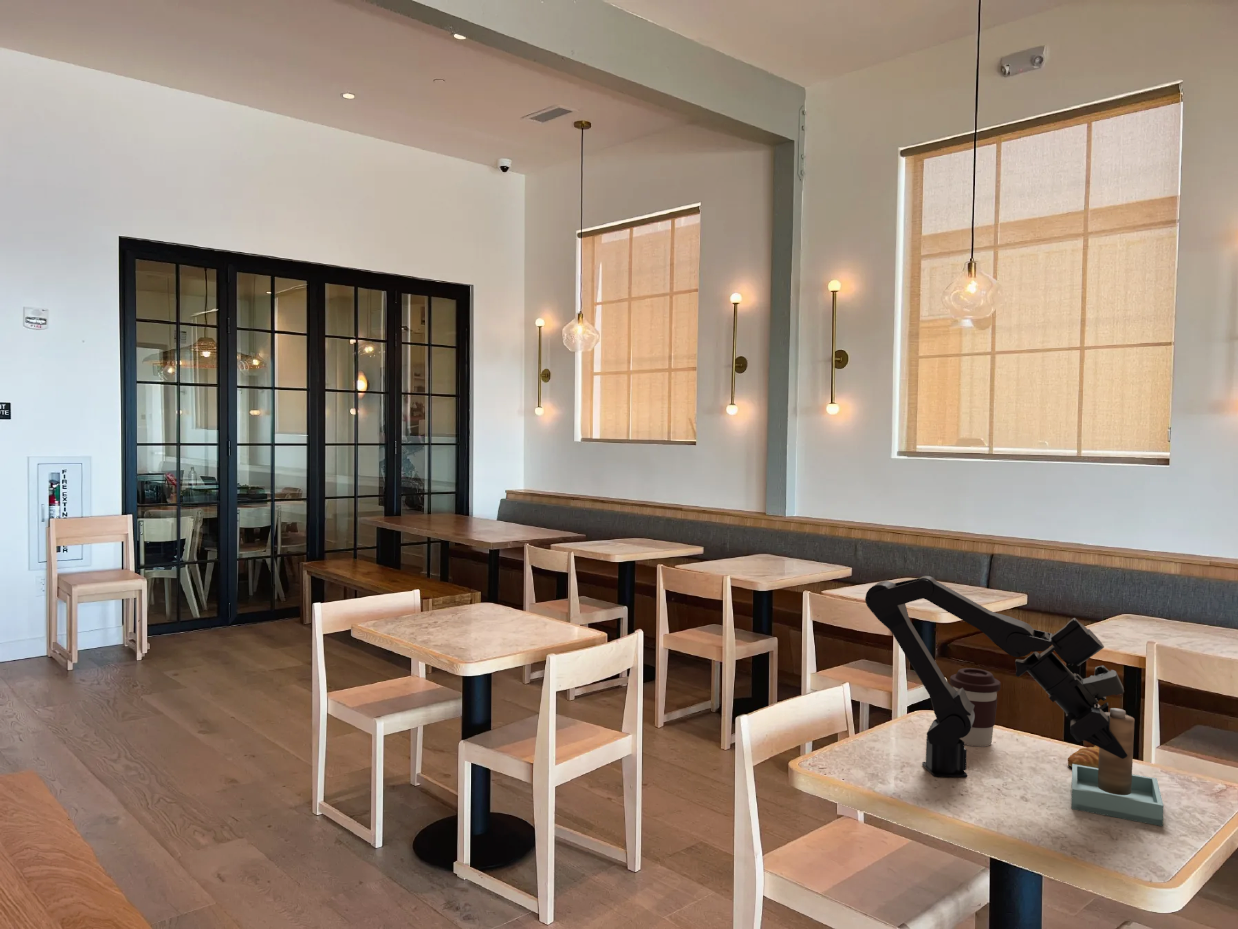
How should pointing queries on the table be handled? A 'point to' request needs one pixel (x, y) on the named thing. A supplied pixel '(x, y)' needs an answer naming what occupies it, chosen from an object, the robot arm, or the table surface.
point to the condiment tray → (1117, 797)
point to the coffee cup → (979, 703)
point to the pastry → (1085, 757)
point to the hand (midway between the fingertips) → (1124, 752)
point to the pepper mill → (1111, 767)
